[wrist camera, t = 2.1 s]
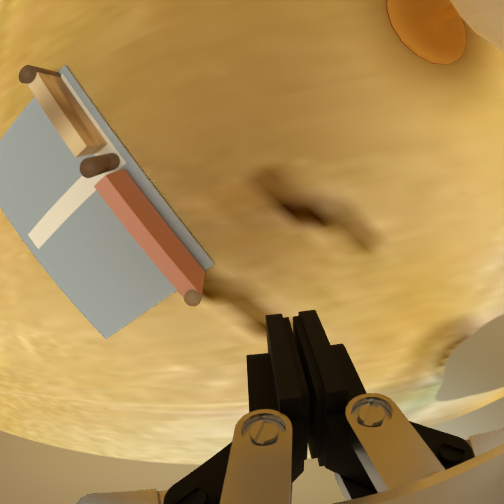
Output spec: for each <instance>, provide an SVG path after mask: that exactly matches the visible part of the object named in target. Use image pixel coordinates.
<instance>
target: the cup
mask: <svg viewBox="0 0 504 504" xmlns="http://www.w3.org/2000/svg"><path fill="white" fill-rule="evenodd" d="M387 11H388V14H389V18H390V22H391V25H392V27H393V28H394V30H395V31H396V33H397V34H398V36H399V37H400V39H401V41H402V42H403V43H404V44H405V45H406V46H407V47H408V48H410V49H411V50H412V51H413V52H414V53H415V54H416V55H417V56H419V57H421V58H423V59H425V60H427V61H429V62H431V63H438V64H449V63H451V62H453V61H455V60H457V59H459V58H460V56H461V55H462V53H463V51H464V49H465V47H466V30H465V27H464V23H463V20H464V21H465V22H466V23H467V24H468V25H469V26H470V28H471V29H472V30H473V31H474V32H475V33H476V34H477V35H479V36H480V37H482V38H483V39H485V40H486V41H488V42H489V43H490V44H492V45H494V46H495V47H497V48H499V49H500V50H502V51H503V52H504V0H388V1H387ZM462 19H463V20H462Z"/></svg>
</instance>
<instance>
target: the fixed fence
mask: <svg viewBox="0 0 504 504" xmlns="http://www.w3.org/2000/svg"><path fill="white" fill-rule="evenodd" d="M19 80H20V82H21V83H27V85H28V86H29V88H30V90H31V91H32V93H33V95H34V96H35V98H36V99H37V101H38V102H39V104H40V106H41V107H42V109H43V110H44V112H45V113H46V115H47V116H48V118H49V119H50V121H51V122H52V124H53V125H54V127H55V128H56V130H57V131H58V133H59V134H60V136H61V137H62V139H63V140H64V142H65V143H66V145H67V146H68V148H69V149H70V150H71V152H72V153H73V155H74V156H75V158H76V157H81V156H86V155H91V154H96V153H98V152H99V151H100V150H101V149H102V148H104V147H105V146H106V145H107V144H108V143H107V142H106V141H105V139H104V138H103V136H102V135H101V134H100V132H99V131H98V130H97V128H96V127H95V125H94V124H93V123H92V121H91V120H90V118H89V117H88V116H87V114H86V113H85V111H84V110H83V108H82V107H81V106H80V104H79V103H78V101H77V100H76V98H75V97H74V96H73V94H72V93H71V91H70V90H69V88H68V87H67V85H66V84H65V82H64V81H63V79H62V78H61V75H60V73H58V72H54V71H50V70H46V69H42V68H38V67H34V66H30V65H26V66H24V67H23V68H22V69H21V71H20V73H19ZM119 164H120V159H119V156H118V155H117V154H115V153H108V154H103V155H98V156H94V157H89V158H85V159H84V160H83V161H82V162H81V164H80V173H81V174H82V176H84V177H85V178H91V177H94V176H97V175H100V174H103V173H106V172H109V171H111V170H114V169H116V168H117V167H118V166H119Z"/></svg>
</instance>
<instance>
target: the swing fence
mask: <svg viewBox="0 0 504 504" xmlns="http://www.w3.org/2000/svg"><path fill="white" fill-rule="evenodd" d="M94 187H95V189H96V190H97V191H98V193H99V194H100V195H101V197H102V198H103V199H104V201H105V202H106V203H107V205H108V206H109V207H110V209H111V210H112V211H113V213H114V214H115V215H116V216H117V218H118V219H119V220H120V222H121V223H122V224H123V225H124V227H125V228H126V229H127V230H128V232H129V233H130V234H131V235H132V237H133V238H134V239H135V240H136V242H137V243H138V244H139V245H140V247H141V248H142V249H143V250H144V252H145V253H146V254H147V255H148V256H149V258H150V259H151V260H152V261H153V262H154V264H155V265H156V266H157V267H158V268H159V270H160V271H161V272H162V273H163V274H164V276H165V277H166V278H167V279H168V280H169V281H170V283H171V284H172V285H173V286H174V287H175V288H176V290H177V291H178V292H179V293H180V294H181V295H182V296H183V298H184V300H185V302H186V304H188V305H190V306H197V305H198V304H199V303H200V301H201V296H202V291H203V286H204V281H205V276H206V272H205V271H204V270H203V268H202V267H201V266H200V265H199V264H198V262H197V261H196V260H195V259H194V257H193V256H192V255H191V254H190V252H189V251H188V250H187V249H186V248H185V246H184V245H183V244H182V243H181V241H180V240H179V239H178V238H177V236H176V235H175V234H174V232H173V231H172V230H171V229H170V227H169V226H168V225H167V224H166V222H165V221H164V220H163V219H162V217H161V216H160V215H159V213H158V212H157V211H156V210H155V208H154V207H153V206H152V204H151V203H150V202H149V200H148V199H147V198H146V197H145V195H144V194H143V193H142V191H141V190H140V189H139V187H138V186H137V185H136V183H135V182H134V181H133V179H132V178H131V177H130V175H129V174H128V173H127V171H126V170H125V169H122V170H119V171H116V172H113V173H110V174H108V175H105V176H104V177H103V178H102V179H101V180H100V181H99V182H98V183H97V184H96V185H95V186H94Z"/></svg>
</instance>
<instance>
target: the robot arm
mask: <svg viewBox="0 0 504 504" xmlns="http://www.w3.org/2000/svg"><path fill="white" fill-rule="evenodd" d="M266 330H267V343H268V353H265V354H255V355H247V375H248V394H249V413H247V414H246V415H244V416H243V417H242V418H241V419H240V420H239V421H238V422H237V424H236V427H235V430H234V435H233V440H232V442H231V443H230V444H229V445H227V446H226V447H225V448H223V449H222V450H221V451H220V452H218V453H217V454H216V455H214V456H213V457H212V458H210V459H209V460H208V461H206V462H205V463H204V464H202V465H201V466H200V467H198V468H197V469H196V470H194V471H193V472H191V473H190V474H189V475H187V476H186V477H184V478H183V479H181V480H180V481H179V482H177V483H176V484H174V485H173V486H172V487H171V488H170V489H169V490H166V491H157V489H150V490H139V491H128V492H111V493H93V494H88V495H86V496H84V497H82V498H81V499H80V500H79V501H78V503H77V504H291V502H292V483H293V482H294V480H296V478H297V477H298V476H299V475H300V474H301V473H302V472H303V471H304V460H306V459H307V447H308V446H309V450H310V455H311V458H312V459H313V458H318V462H319V466H325V468H327V469H329V470H331V471H333V472H335V474H334V475H335V478H336V481H337V483H338V485H339V487H340V489H341V491H342V493H343V496H344V498H345V499H346V501H344V502H339V503H334V504H504V428H503V429H499V430H495V431H491V432H487V433H483V434H478V435H473V436H469V437H468V439H467V440H464V439H462V438H460V437H457V436H454V435H451V434H448V433H444V432H441V431H438V430H435V429H432V428H428V427H425V426H422V425H419V424H416V423H413V422H410V421H408V419H407V418H406V417H405V415H404V414H403V413H402V412H401V410H400V409H399V408H398V406H397V405H396V404H395V403H394V402H393V401H392V400H391V399H390V398H388V397H386V396H384V395H381V394H377V393H366V391H365V389H364V387H363V384H362V382H361V380H360V378H359V376H358V374H357V372H356V369H355V367H354V365H353V363H352V361H351V359H350V357H349V355H348V353H347V350H346V348H345V346H344V345H343V344H336V345H330V343H329V341H328V338H327V336H326V333H325V331H324V329H323V326H322V324H321V322H320V319H319V317H318V315H317V313H316V311H315V310H309V311H301V312H299V314H298V316H294V317H293V331H292V328H291V324H290V321H289V317H285V318H283V316H282V314H274V315H266Z"/></svg>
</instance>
